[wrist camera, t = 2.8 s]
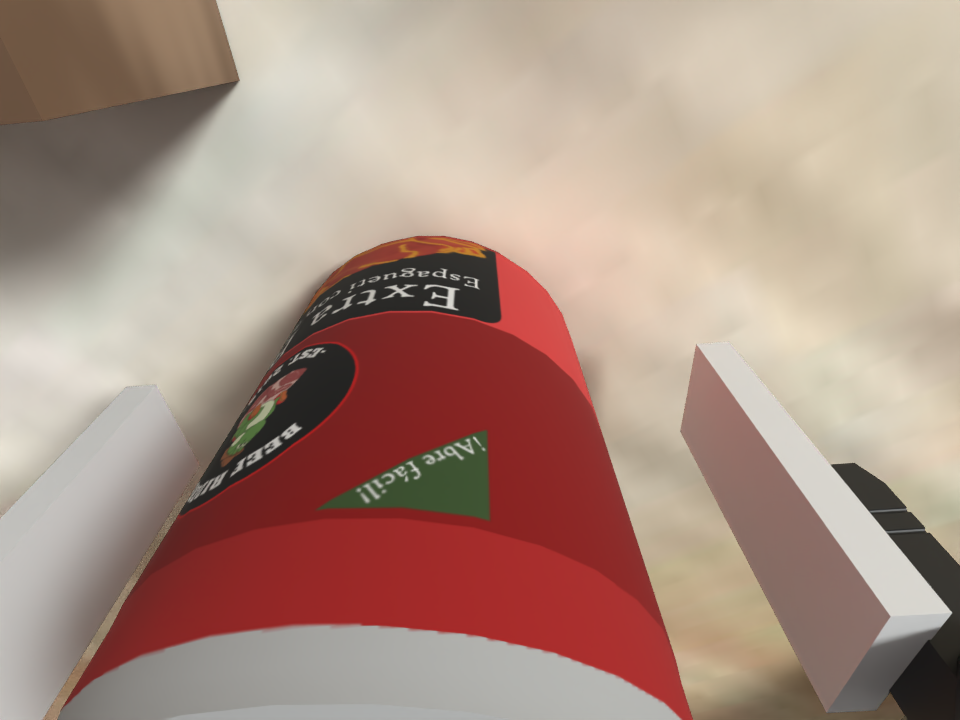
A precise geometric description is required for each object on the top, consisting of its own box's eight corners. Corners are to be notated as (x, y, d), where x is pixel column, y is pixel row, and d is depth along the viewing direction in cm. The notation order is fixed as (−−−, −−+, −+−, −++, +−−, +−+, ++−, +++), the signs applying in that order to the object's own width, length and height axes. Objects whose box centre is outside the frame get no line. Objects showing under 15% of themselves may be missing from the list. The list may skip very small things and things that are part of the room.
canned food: (474, 163, 12) (474, 590, 3) (615, 388, 16) (814, 893, 7) (248, 319, 14) (-164, 842, 5) (418, 484, 18) (358, 961, 9)
